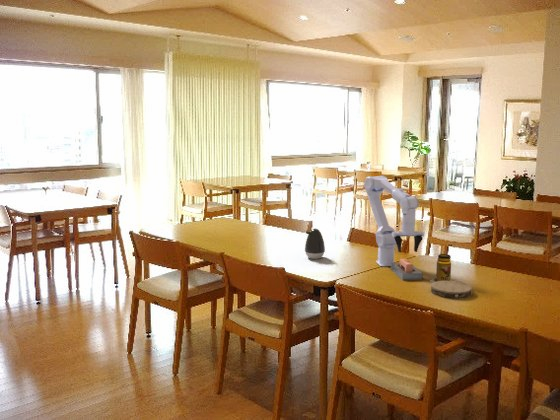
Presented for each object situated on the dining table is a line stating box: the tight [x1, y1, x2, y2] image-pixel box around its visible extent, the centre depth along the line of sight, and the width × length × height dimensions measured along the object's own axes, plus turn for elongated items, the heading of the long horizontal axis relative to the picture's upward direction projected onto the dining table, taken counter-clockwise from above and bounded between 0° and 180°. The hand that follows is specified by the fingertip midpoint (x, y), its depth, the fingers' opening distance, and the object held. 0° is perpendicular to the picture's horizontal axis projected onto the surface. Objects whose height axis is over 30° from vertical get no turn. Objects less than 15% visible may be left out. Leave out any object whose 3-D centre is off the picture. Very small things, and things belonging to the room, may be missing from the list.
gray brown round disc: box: [430, 280, 473, 300], centre depth 231 cm, size 16×16×3 cm
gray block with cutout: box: [390, 262, 423, 281], centre depth 258 cm, size 18×9×3 cm, turn 5°
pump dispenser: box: [304, 228, 326, 260], centre depth 287 cm, size 10×10×15 cm
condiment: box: [429, 253, 453, 283], centre depth 246 cm, size 7×8×12 cm
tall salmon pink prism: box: [399, 258, 414, 272], centre depth 258 cm, size 10×3×6 cm, turn 5°
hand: (407, 251), depth 261 cm, fingers open, 7 cm apart
